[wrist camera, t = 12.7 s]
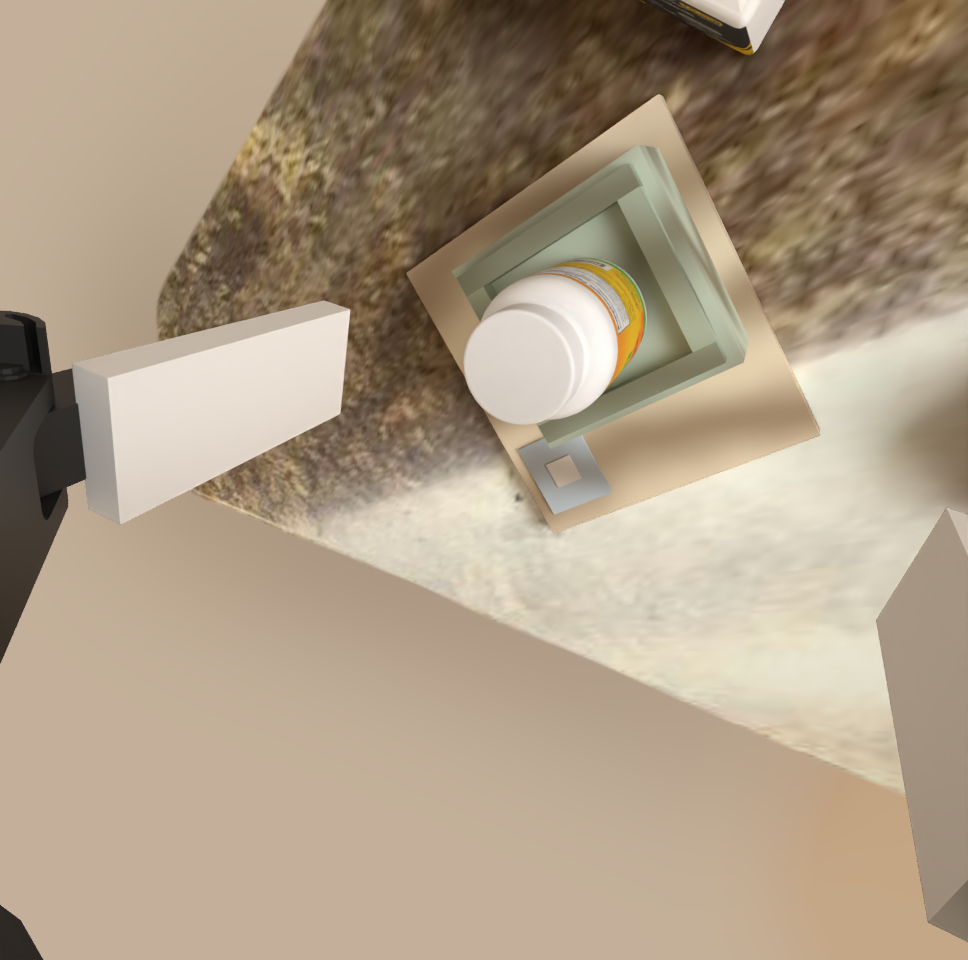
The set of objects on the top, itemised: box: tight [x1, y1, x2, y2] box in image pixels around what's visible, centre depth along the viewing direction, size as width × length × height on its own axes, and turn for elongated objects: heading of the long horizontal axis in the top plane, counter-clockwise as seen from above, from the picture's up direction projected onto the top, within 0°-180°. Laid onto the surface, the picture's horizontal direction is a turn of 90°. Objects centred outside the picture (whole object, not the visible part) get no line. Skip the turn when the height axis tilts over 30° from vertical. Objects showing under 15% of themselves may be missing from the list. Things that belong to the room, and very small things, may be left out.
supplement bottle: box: [463, 258, 647, 425], centre depth 26 cm, size 5×5×10 cm
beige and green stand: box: [406, 94, 820, 533], centre depth 34 cm, size 18×16×7 cm
